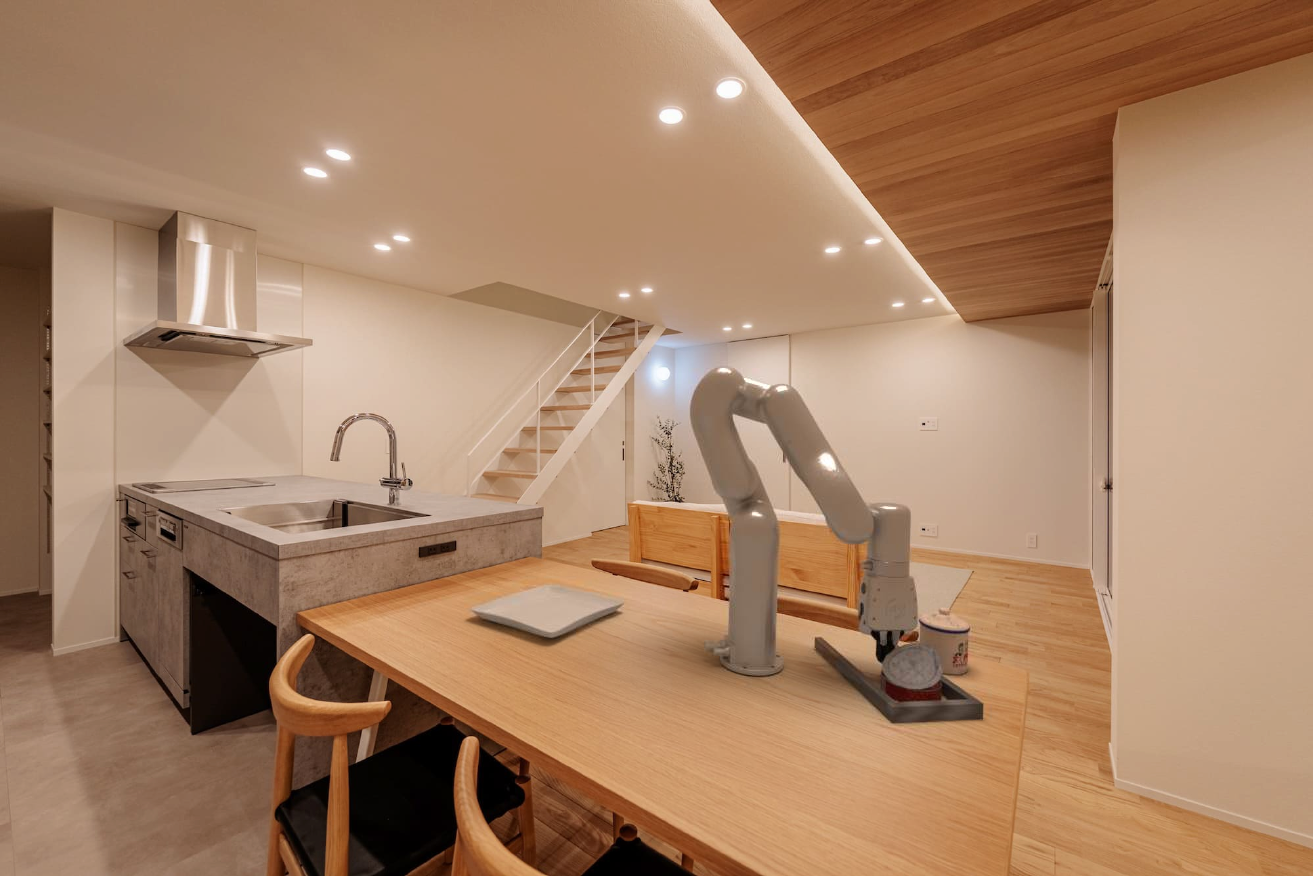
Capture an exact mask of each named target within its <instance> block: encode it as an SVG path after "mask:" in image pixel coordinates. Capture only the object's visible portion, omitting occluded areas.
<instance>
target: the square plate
mask: <svg viewBox="0 0 1313 876" xmlns="http://www.w3.org/2000/svg"><path fill="white" fill-rule="evenodd" d="M625 603H626V601H625V600H624V599H623V600H622V599H618V598H614V597H610V596H606V595H603V594H598V593H594V592H589V591H586V590H580V589H577V588H572V587H565V586H561V585H555V584H550V583H549V584H545V585H541V586H538V587H537V586H536V587H533V588H530V589H526V590H523V591H518V592H515V593H511V594H509V595H506V596H502V597H498V598H496V599H493V600H490V601H488V602H484V603H482V604H479V605H475V606H473V607H470V608H469V611H471V612H473V613H474V614H475V615H476V616H478V617H479V618H482V619H483V620H487V621H490V622H494V623H497V624H500V625H504V626H506V627H510V628H513V629H517V630H521V631H524V632H527V633H530V634H534V635H537V636H540V637H545V638H549V639H553V638H557V637H559V636H562V635H565V634H567V633H569V632H571V631H574V630H576V629H578V628H580V627H583V626H586V625H587V624H589V623H591V622H595V621H597V620H598V619H600V618H602V617H604V616H607V615H609V614H611V613H614V612H616V611H617V610H619V609H620V608H621V607H622V606H623V605H624V604H625Z"/></svg>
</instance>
